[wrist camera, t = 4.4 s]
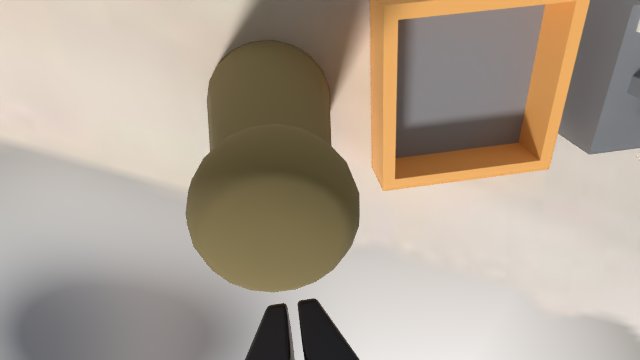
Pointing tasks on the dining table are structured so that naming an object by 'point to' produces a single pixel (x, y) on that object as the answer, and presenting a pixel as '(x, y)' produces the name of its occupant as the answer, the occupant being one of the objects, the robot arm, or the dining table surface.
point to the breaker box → (605, 80)
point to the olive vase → (271, 173)
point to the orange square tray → (468, 86)
